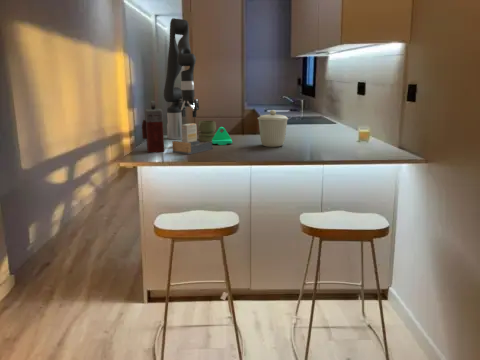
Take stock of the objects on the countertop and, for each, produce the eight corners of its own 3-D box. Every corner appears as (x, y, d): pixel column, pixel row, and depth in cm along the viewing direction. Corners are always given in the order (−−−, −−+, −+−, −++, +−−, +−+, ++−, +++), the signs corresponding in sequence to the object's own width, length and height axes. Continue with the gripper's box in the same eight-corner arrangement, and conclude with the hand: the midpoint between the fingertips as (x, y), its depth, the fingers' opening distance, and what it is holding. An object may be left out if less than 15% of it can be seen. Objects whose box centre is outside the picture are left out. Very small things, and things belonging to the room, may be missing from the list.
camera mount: (212, 145, 276) (212, 128, 273) (212, 143, 283) (211, 126, 281) (232, 145, 277) (232, 128, 274) (231, 143, 284) (231, 126, 282)
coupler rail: (172, 152, 254) (172, 141, 253) (197, 147, 269) (196, 137, 268) (188, 154, 247) (188, 143, 245) (212, 149, 262) (212, 138, 261)
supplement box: (191, 144, 279) (191, 123, 276) (197, 145, 276) (196, 123, 273) (181, 146, 273) (181, 124, 270) (187, 147, 270) (186, 125, 267)
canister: (251, 146, 271) (251, 110, 266) (270, 142, 284) (270, 108, 279) (275, 149, 259) (275, 112, 254) (294, 145, 272) (294, 109, 267)
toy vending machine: (143, 150, 261) (139, 100, 254) (162, 149, 263) (160, 100, 257) (143, 153, 252) (140, 101, 245) (164, 152, 255) (161, 101, 248)
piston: (200, 122, 286) (196, 121, 296) (201, 141, 289) (196, 139, 299) (217, 122, 289) (213, 120, 300) (218, 140, 292) (213, 138, 303)
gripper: (174, 89, 268) (175, 117, 272) (192, 89, 259) (193, 118, 263) (183, 88, 274) (184, 115, 277) (201, 88, 265) (202, 116, 269)
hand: (189, 116), depth 270 cm, fingers open, 8 cm apart
